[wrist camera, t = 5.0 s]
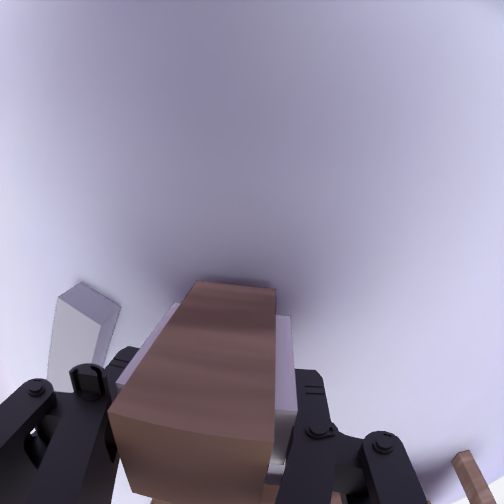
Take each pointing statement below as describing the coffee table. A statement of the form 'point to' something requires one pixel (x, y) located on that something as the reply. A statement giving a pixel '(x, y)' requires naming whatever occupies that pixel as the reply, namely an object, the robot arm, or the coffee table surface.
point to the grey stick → (79, 333)
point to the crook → (204, 402)
